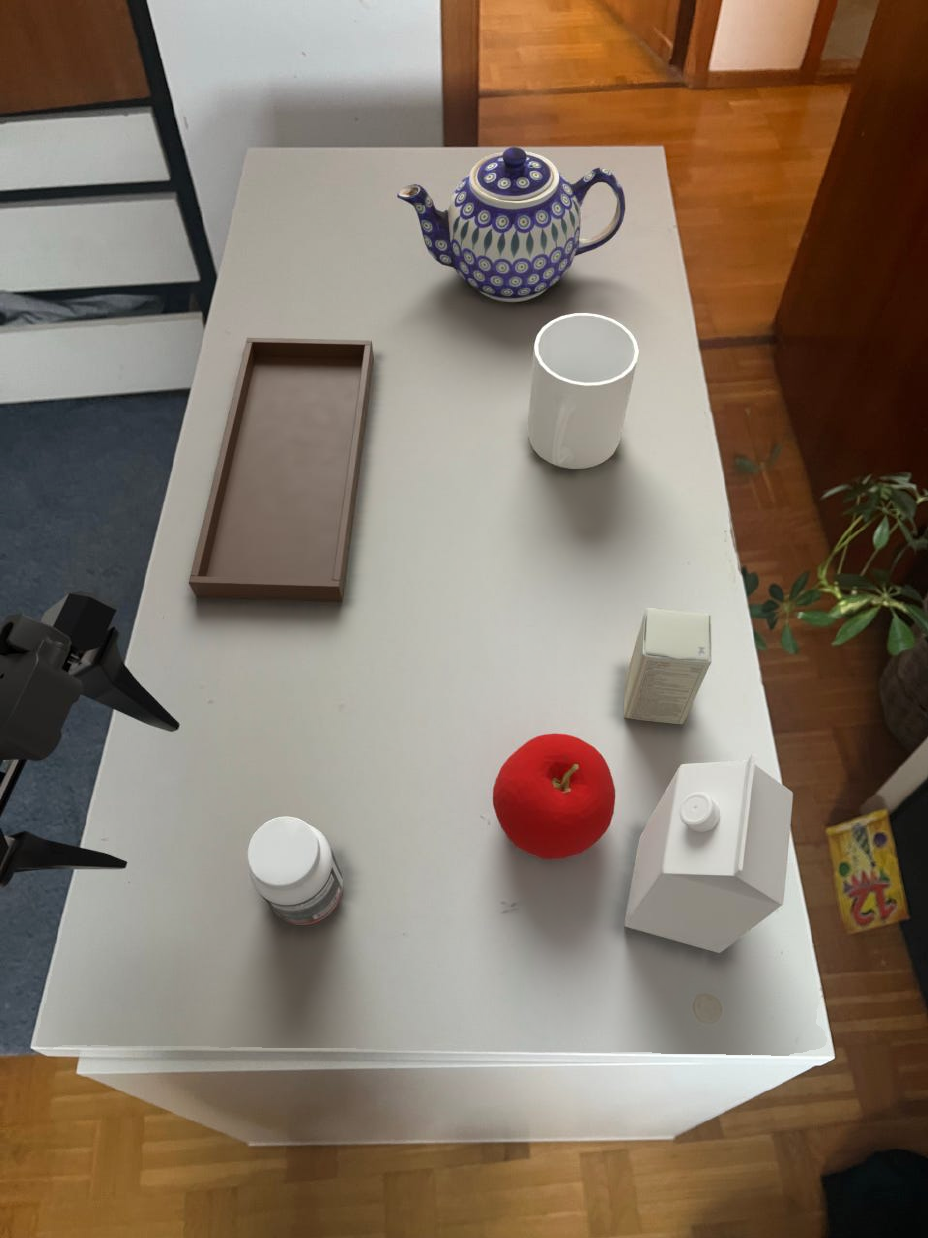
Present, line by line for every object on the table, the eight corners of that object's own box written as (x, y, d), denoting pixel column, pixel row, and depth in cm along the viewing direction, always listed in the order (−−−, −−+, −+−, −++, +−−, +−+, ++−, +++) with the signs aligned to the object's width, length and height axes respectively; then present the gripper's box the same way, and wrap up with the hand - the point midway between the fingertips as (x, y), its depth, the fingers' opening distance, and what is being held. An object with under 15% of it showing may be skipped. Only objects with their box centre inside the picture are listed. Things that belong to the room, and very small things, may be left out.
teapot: (607, 230, 107) (626, 106, 94) (624, 312, 99) (648, 190, 87) (402, 236, 107) (393, 113, 94) (404, 320, 99) (394, 198, 86)
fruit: (580, 893, 66) (598, 855, 58) (472, 841, 68) (473, 797, 60) (624, 788, 70) (646, 738, 62) (521, 742, 72) (529, 687, 64)
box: (684, 681, 75) (715, 613, 66) (683, 726, 73) (715, 664, 64) (622, 673, 76) (645, 605, 66) (620, 718, 74) (642, 654, 64)
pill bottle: (269, 853, 68) (240, 811, 59) (342, 846, 68) (325, 803, 60) (267, 931, 65) (237, 897, 56) (345, 922, 65) (326, 888, 57)
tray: (342, 602, 80) (339, 586, 77) (195, 597, 80) (188, 582, 78) (373, 358, 96) (371, 340, 94) (251, 355, 96) (246, 337, 94)
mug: (619, 406, 92) (638, 316, 82) (619, 496, 86) (639, 410, 76) (529, 400, 92) (537, 309, 82) (522, 489, 86) (529, 402, 76)
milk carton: (731, 860, 67) (815, 769, 51) (719, 954, 64) (806, 888, 48) (639, 836, 68) (693, 738, 52) (623, 927, 65) (675, 853, 49)
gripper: (-178, 843, 37) (153, 944, 45) (15, 502, 47) (260, 636, 55) (-215, 864, 45) (74, 947, 53) (-43, 567, 54) (180, 676, 63)
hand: (151, 794), depth 56 cm, fingers open, 9 cm apart
